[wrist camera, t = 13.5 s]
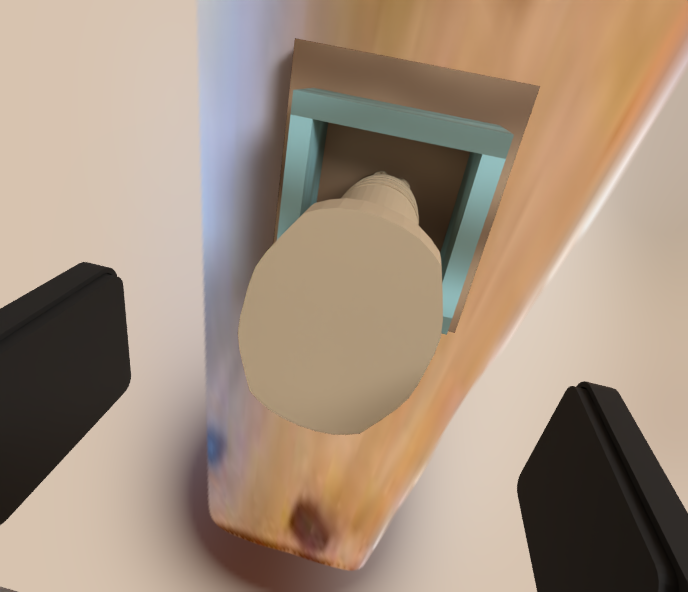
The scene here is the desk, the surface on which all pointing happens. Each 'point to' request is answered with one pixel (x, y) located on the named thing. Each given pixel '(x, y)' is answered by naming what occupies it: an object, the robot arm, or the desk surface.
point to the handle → (344, 310)
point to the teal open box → (404, 146)
